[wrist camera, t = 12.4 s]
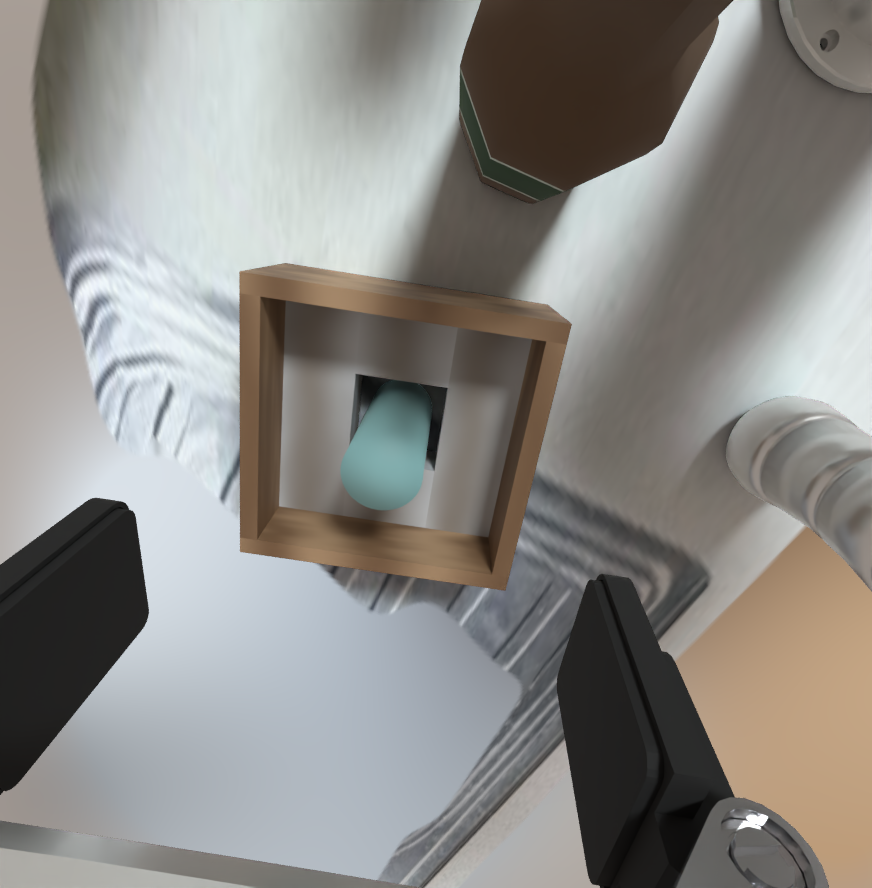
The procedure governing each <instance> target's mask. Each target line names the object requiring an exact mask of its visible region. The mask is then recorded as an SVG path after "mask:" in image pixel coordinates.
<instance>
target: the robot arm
mask: <svg viewBox="0 0 872 888" xmlns="http://www.w3.org/2000/svg"><path fill="white" fill-rule="evenodd" d="M779 8H780V13H781V16H782V20H783V23H784V26H785V29H786V32H787V35H788V38H789V40H790V41H791V43H792V45H793V46H794V48H795V50H796V52H797V53H798V55H799V57H800V58H801V59H802V60H803V61H804V62H805V64H806V65H807V66H808V67H809V68H810V69H811V70H812V71H813V72H814V73H815V74H816V75H818V76H819V77H821V78H823V79H824V80H826V81H828V82H829V83H831V84H832V85H834V86H836V87H840V88H843V89H846V90H850V91H853V92H856V93H872V0H779ZM820 42H821V44H822V49H821V47H820ZM148 614H149V609H148V601H147V594H146V587H145V580H144V573H143V566H142V559H141V552H140V545H139V538H138V531H137V524H136V517H135V514H134V512H133V511H131V510H129V508H128V506H127V505H126V503H124V502H121V501H114V500H107V499H100V498H92V499H90V500H88V501H86V502H85V503H84V504H83V505H81V506H80V507H78V508H77V509H76V510H74V511H73V512H71V513H70V514H69V515H67V516H66V517H65V518H63V519H62V520H61V521H59V522H58V523H56V524H55V525H54V526H52V527H51V528H50V529H48V530H47V531H46V532H44V533H43V534H41V535H40V536H39V537H37V538H36V539H35V540H33V541H32V542H31V543H29V544H28V545H27V546H25V547H24V548H22V550H20V551H19V552H17V553H16V554H15V555H13V556H12V557H10V558H9V559H8V560H6V561H5V562H4V563H2V564H1V565H0V795H1V793H2V792H3V791H7V790H10V789H12V788H13V787H14V786H16V784H18V782H19V781H20V780H21V779H22V778H23V777H24V775H25V774H26V773H27V772H28V770H29V769H30V768H31V767H32V765H33V764H34V763H35V762H36V760H37V759H38V758H39V757H40V756H41V754H42V753H43V752H44V751H45V749H46V748H47V747H48V746H49V744H50V743H51V742H52V741H53V739H54V738H55V737H56V736H57V734H58V733H59V732H60V731H61V730H62V728H63V727H64V726H65V725H66V723H67V722H68V721H69V720H70V718H71V717H72V716H73V715H74V713H75V712H76V711H77V709H78V708H79V707H80V706H81V705H82V703H83V702H84V701H85V700H86V698H87V697H88V696H89V695H90V694H91V692H92V691H93V690H94V689H95V687H96V686H97V685H98V684H99V682H100V681H101V680H102V679H103V677H104V676H105V675H106V674H107V672H108V671H109V670H110V669H111V667H112V666H113V665H114V664H115V662H116V661H117V660H118V659H119V658H120V656H121V655H122V654H123V653H124V651H125V650H126V649H127V647H128V646H129V645H130V644H131V643H132V641H133V640H134V639H135V638H136V636H137V635H138V634H139V633H140V632H141V630H142V629H143V627H144V626H145V624H146V622H147V618H148ZM557 693H558V699H559V705H560V711H561V717H562V723H563V729H564V735H565V741H566V747H567V753H568V759H569V765H570V771H571V777H572V782H573V788H574V794H575V800H576V807H577V812H578V818H579V824H580V830H581V836H582V842H583V848H584V854H585V860H586V866H587V871H588V876H589V879H590V881H591V883H592V884H594V885H599V886H600V888H829V885H828V882H827V879H826V876H825V873H824V870H823V867H822V865H821V863H820V862H819V860H818V858H817V857H816V855H815V853H814V852H813V850H812V848H811V847H810V846H809V845H808V843H807V842H806V841H805V840H804V839H803V837H802V836H801V835H800V834H799V833H798V832H797V830H796V829H795V828H793V827H792V826H791V825H790V824H789V823H788V822H787V821H785V820H784V819H783V818H782V817H781V816H780V815H778V814H776V813H775V812H773V811H772V810H770V809H768V808H766V807H765V806H763V805H762V804H759V803H756V802H753V801H751V800H748V799H745V798H735V797H734V794H733V792H732V790H731V787H730V786H729V783H728V781H727V778H726V776H725V774H724V772H723V769H722V767H721V765H720V763H719V760H718V758H717V756H716V754H715V751H714V749H713V747H712V745H711V742H710V740H709V738H708V735H707V733H706V731H705V729H704V726H703V724H702V722H701V720H700V718H699V715H698V713H697V711H696V708H695V707H694V704H693V702H692V699H691V697H690V695H689V693H688V690H687V688H686V686H685V684H684V681H683V679H682V677H681V674H680V672H679V670H678V668H677V665H676V663H675V661H674V660H673V658H672V656H671V655H669V654H668V653H667V652H662V651H661V649H660V646H659V644H658V642H657V639H656V637H655V635H654V632H653V630H652V627H651V625H650V623H649V620H648V618H647V616H646V613H645V611H644V609H643V606H642V604H641V601H640V599H639V597H638V594H637V592H636V590H635V587H634V585H633V583H632V581H631V579H629V578H625V577H619V576H612V575H605V574H600V575H599V576H598V577H597V580H589V581H588V583H587V585H586V588H585V591H584V595H583V598H582V601H581V604H580V607H579V610H578V613H577V616H576V620H575V623H574V626H573V629H572V632H571V635H570V638H569V641H568V645H567V648H566V651H565V654H564V657H563V660H562V663H561V666H560V670H559V673H558V678H557ZM0 888H419V887H413V886H407V885H401V884H395V883H389V882H383V881H377V880H371V879H365V878H358V877H353V876H347V875H341V874H335V873H329V872H322V871H316V870H310V869H304V868H298V867H291V866H285V865H279V864H273V863H267V862H260V861H254V860H247V859H242V858H236V857H229V856H223V855H217V854H210V853H204V852H198V851H192V850H185V849H179V848H173V847H166V846H160V845H153V844H148V843H141V842H135V841H129V840H122V839H115V838H109V837H103V836H96V835H90V834H83V833H77V832H70V831H64V830H57V829H51V828H44V827H38V826H31V825H25V824H18V823H11V822H5V821H0Z"/></svg>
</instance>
